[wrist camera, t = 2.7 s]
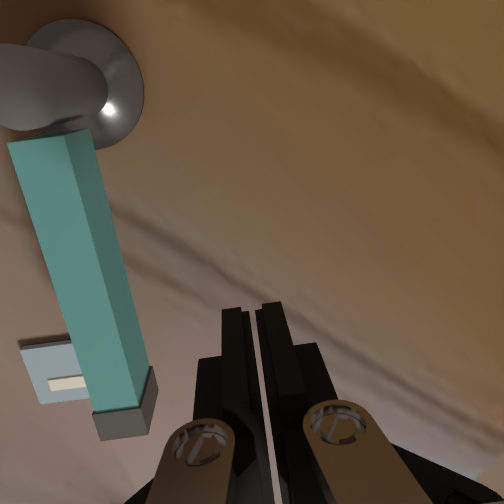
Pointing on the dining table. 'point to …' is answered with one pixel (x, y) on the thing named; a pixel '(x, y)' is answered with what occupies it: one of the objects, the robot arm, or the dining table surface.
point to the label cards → (55, 371)
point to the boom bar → (78, 230)
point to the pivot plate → (112, 66)
